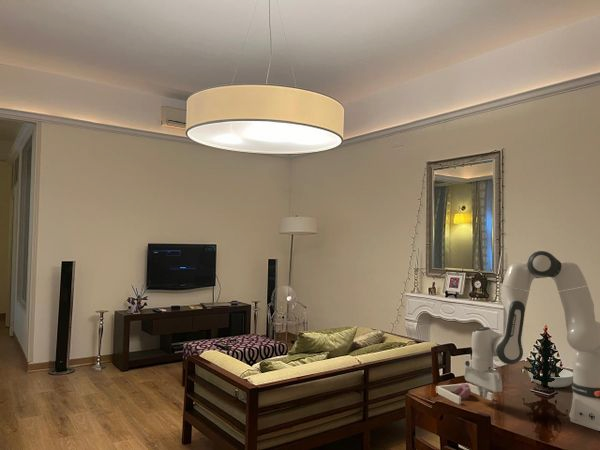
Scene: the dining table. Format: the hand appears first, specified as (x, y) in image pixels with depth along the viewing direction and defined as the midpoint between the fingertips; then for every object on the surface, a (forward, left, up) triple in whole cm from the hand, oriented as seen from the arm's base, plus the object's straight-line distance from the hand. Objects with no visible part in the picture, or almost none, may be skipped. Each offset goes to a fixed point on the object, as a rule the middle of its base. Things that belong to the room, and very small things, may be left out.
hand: (483, 396), depth 207 cm
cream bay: (+13, 0, -4) cm, 13 cm away
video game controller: (+13, +1, -4) cm, 14 cm away
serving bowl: (+16, -54, -4) cm, 56 cm away
